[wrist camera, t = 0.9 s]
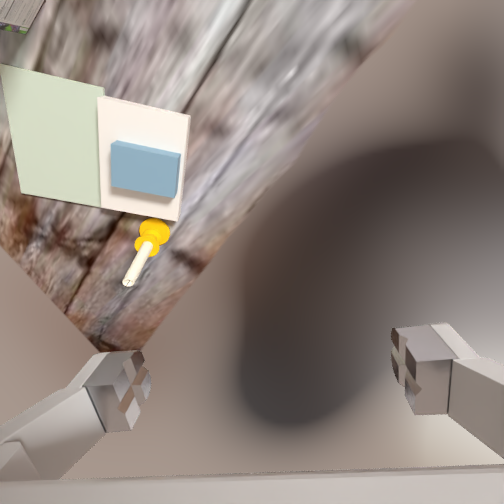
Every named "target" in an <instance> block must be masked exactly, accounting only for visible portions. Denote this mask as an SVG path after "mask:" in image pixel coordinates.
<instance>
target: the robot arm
mask: <svg viewBox="0 0 504 504" xmlns="http://www.w3.org/2000/svg"><path fill="white" fill-rule="evenodd" d="M391 340H392V342H393V344H394V346H395V347H394V348H393V349H392V351H391V362H392V367H393V371H394V374H395V377H396V379H397V381H398V383H399V384H400V385H402V386H403V387H405V397H406V399H407V401H408V403H409V405H410V407H411V409H412V411H413V412H414V414H415V415H435V414H448V416H449V417H451V418H452V419H453V420H454V421H456V422H457V423H458V424H460V425H461V426H462V427H463V428H465V429H466V430H467V431H468V432H470V433H471V434H472V435H474V436H475V437H476V438H478V439H479V440H480V441H481V442H483V443H484V444H485V445H487V446H488V447H489V448H490V449H492V450H493V451H494V452H496V453H497V454H498V455H500V456H501V457H502V458H503V459H504V365H503V364H501V363H498V362H496V361H494V360H491V359H489V358H487V357H482V358H480V357H479V356H478V354H477V353H476V352H475V351H474V350H473V349H472V348H471V347H470V346H469V345H468V344H467V343H466V342H465V341H464V340H463V339H462V338H461V337H460V336H459V335H458V333H457V332H456V331H455V330H454V329H453V328H452V327H451V326H450V325H449V324H448V323H445V322H440V323H433V324H426V325H418V326H407V327H396V328H392V330H391ZM144 361H145V360H144V357H143V354H142V352H141V351H139V350H133V351H118V352H105V353H97V354H95V355H93V356H92V357H91V359H90V360H89V361H88V362H87V363H86V364H85V366H84V367H83V368H82V369H81V370H80V371H79V373H78V374H77V375H76V376H75V377H74V379H73V380H72V381H71V382H70V383H69V384H68V386H67V387H66V388H65V389H60V390H58V391H56V392H55V393H53V394H52V395H50V396H48V397H47V398H45V399H44V400H42V401H40V402H39V403H37V404H35V405H34V406H32V407H30V408H29V409H27V410H25V411H24V412H22V413H21V414H19V415H17V416H16V417H14V418H12V419H11V420H9V421H7V422H6V423H4V424H3V425H1V426H0V504H504V464H495V465H494V464H493V465H465V466H440V467H439V466H437V467H411V468H380V469H350V470H320V471H290V472H262V473H233V474H206V475H176V476H149V477H119V478H91V479H62V480H59V479H60V478H61V477H62V476H63V475H64V474H65V473H66V472H67V471H68V470H69V469H70V468H71V467H72V466H73V465H74V464H75V463H77V462H78V460H80V459H81V458H82V456H84V455H85V454H86V453H87V452H88V451H89V450H90V449H91V448H92V447H93V446H94V445H95V444H96V443H97V442H98V441H99V440H100V439H101V438H102V437H103V436H104V435H105V433H109V432H120V431H131V430H132V428H133V426H134V424H135V422H136V420H137V418H138V416H139V414H140V409H139V406H140V405H141V404H143V403H144V402H145V401H146V400H147V398H148V396H149V393H150V388H151V377H150V374H149V371H148V370H147V369H146V368H145V367H143V366H142V365H143V363H144Z"/></svg>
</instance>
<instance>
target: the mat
mask: <svg viewBox="0 0 504 504" xmlns="http://www.w3.org/2000/svg"><path fill="white" fill-rule="evenodd" d="M0 75H1V80H2V86H3V92H4V97H5V103H6V109H7V114H8V120H9V126H10V131H11V137H12V142H13V148H14V154H15V159H16V165H17V171H18V176H19V182H20V188H21V193H24V194H30V195H35V196H41V197H46V198H52V199H57V200H63V201H68V202H74V203H79V204H85V205H90V206H96V207H101V188H100V161H99V134H98V107H97V97H101V96H104V88H103V87H99V86H94V85H90V84H86V83H82V82H77V81H73V80H69V79H65V78H60V77H56V76H52V75H48V74H43V73H39V72H35V71H31V70H26V69H22V68H18V67H14V66H9V65H5V64H0Z"/></svg>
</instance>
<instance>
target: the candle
mask: <svg viewBox="0 0 504 504" xmlns="http://www.w3.org/2000/svg"><path fill="white" fill-rule="evenodd" d="M139 233H140V236H141V237H139V238H137V240H136V241H135V249H136V250H137V252H138V253H137V255H136V256H135V258H134V260H133V262H132V264H131V266H130V268H129V269H128V271H127V273H126V275H125V277H124V279H123V281H122V283H123V285H125V286H132V285H133V284H134V283H135V281H136V280H137V278H138V276H139V274H140V272H141V270H142V268H143V266H144V264H145V262H146V260H147V258H148V257H152V256H155V255H156V254H157V253H158V251H159V245H162V244H164V243H165V242H167V240H168V239H169V236H170V230H169V227H168V226H167V224H166V223H165V222H163V221H162V220H160V219H157V218H149V219H146V220H145V221H143V222H142V224H141V225H140V228H139Z"/></svg>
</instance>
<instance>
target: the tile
mask: <svg viewBox="0 0 504 504" xmlns="http://www.w3.org/2000/svg"><path fill="white" fill-rule="evenodd" d="M180 161H181V154H180V153H175V152H170V151H166V150H161V149H156V148H152V147H147V146H142V145H138V144H133V143H128V142H123V141H119V140H116V141H115V142H113V143H111V186H113V187H118V188H124V189H129V190H134V191H139V192H144V193H150V194H155V195H160V196H165V197H170V198H175V196H176V194H177V191H178V181H179V171H180Z"/></svg>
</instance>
